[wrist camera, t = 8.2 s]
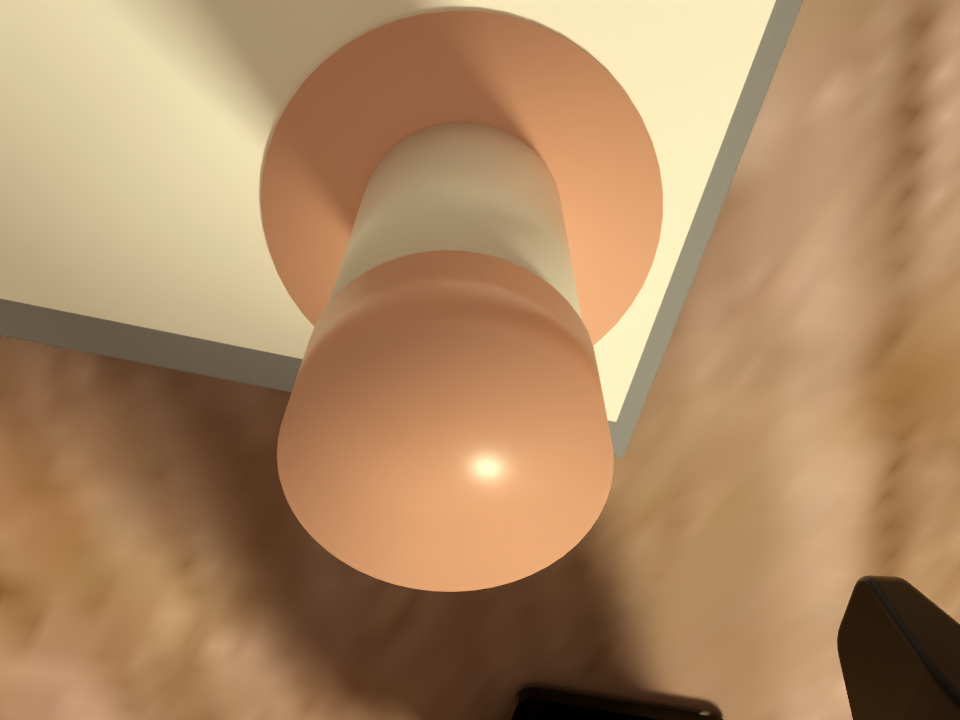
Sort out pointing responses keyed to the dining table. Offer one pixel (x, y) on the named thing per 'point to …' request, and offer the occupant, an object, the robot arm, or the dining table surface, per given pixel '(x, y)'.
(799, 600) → the dining table surface
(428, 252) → the marker
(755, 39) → the colouring board
